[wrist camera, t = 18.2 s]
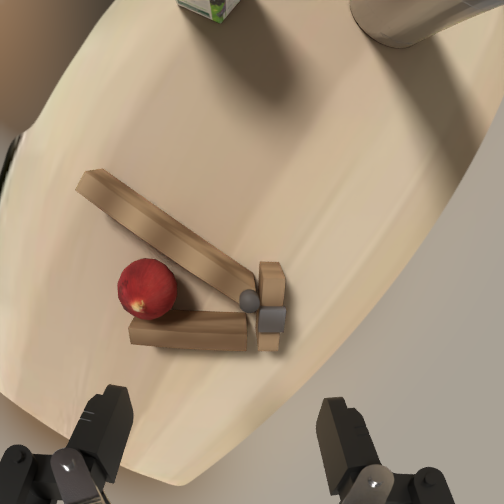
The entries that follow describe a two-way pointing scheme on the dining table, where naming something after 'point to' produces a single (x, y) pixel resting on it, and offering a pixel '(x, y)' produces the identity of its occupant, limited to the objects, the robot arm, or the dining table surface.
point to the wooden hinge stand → (220, 322)
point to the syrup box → (210, 8)
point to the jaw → (170, 237)
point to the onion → (147, 289)
